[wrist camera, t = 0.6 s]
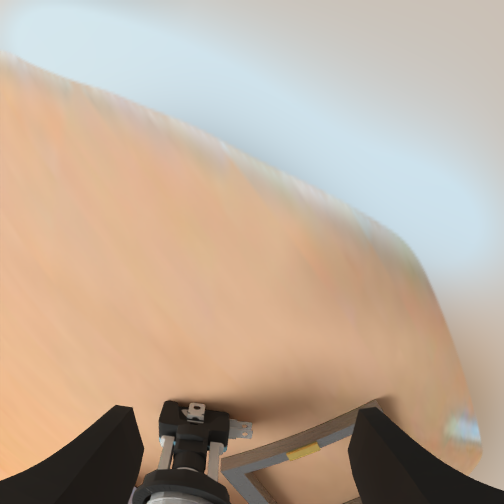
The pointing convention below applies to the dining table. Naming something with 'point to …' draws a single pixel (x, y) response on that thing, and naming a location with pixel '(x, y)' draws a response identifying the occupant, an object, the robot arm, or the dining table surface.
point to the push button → (190, 456)
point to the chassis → (285, 455)
